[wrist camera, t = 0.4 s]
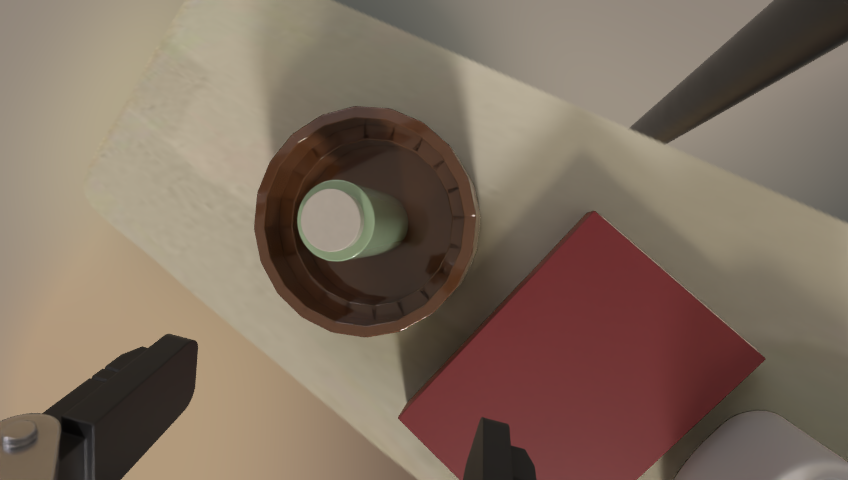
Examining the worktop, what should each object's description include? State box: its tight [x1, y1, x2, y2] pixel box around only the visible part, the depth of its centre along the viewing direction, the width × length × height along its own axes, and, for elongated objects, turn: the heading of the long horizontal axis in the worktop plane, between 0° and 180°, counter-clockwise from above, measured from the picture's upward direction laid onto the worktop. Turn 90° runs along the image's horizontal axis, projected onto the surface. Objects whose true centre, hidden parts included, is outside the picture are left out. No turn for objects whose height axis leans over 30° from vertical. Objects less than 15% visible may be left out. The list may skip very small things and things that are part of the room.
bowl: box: [254, 106, 481, 337], centre depth 35 cm, size 16×16×5 cm
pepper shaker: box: [297, 180, 408, 262], centre depth 32 cm, size 5×5×10 cm
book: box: [398, 211, 765, 480], centre depth 34 cm, size 20×14×3 cm
